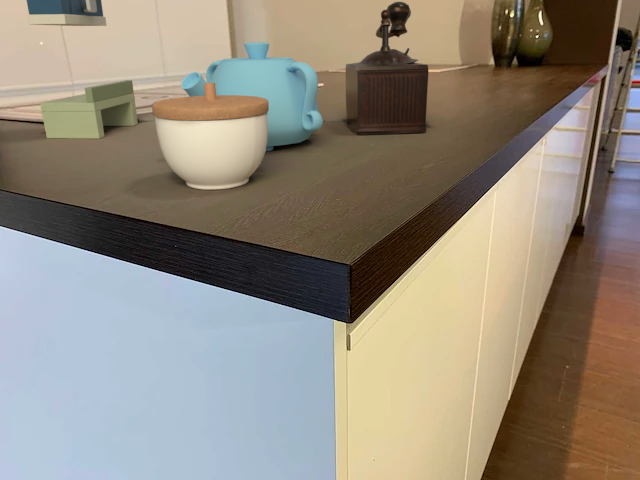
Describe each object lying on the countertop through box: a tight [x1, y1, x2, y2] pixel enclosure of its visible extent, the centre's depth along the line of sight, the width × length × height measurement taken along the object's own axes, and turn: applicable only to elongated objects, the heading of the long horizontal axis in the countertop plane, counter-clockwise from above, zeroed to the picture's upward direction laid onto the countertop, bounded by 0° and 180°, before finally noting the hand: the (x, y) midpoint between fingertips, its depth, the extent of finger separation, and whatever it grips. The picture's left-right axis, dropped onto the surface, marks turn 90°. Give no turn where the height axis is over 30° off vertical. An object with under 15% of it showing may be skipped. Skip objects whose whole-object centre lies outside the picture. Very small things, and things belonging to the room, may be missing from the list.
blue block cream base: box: [26, 0, 107, 27], centre depth 73 cm, size 11×5×5 cm, turn 174°
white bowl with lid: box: [151, 83, 269, 191], centre depth 51 cm, size 11×11×9 cm
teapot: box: [180, 41, 324, 152], centre depth 68 cm, size 20×20×13 cm
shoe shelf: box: [39, 79, 139, 140], centre depth 82 cm, size 8×13×7 cm, turn 174°
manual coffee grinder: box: [345, 1, 429, 135], centre depth 81 cm, size 16×11×18 cm
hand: (68, 12), depth 74 cm, fingers closed on blue block cream base, 4 cm apart
